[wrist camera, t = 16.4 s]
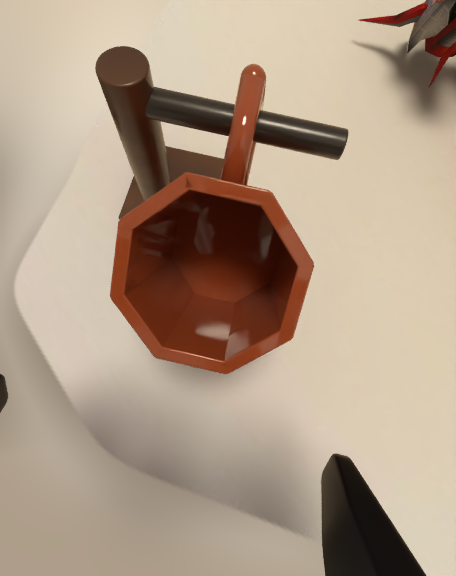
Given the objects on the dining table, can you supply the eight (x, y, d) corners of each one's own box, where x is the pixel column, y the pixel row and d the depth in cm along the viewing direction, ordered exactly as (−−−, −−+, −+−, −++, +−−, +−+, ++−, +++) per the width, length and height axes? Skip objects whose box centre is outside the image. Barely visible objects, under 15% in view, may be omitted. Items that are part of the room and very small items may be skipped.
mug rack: (280, 267, 25) (355, 138, 12) (120, 231, 25) (21, 64, 12) (296, 184, 27) (374, -3, 14) (148, 151, 27) (90, -62, 14)
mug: (269, 316, 20) (279, 387, 13) (159, 291, 20) (102, 346, 13) (320, 126, 17) (373, 69, 10) (190, 97, 17) (140, 19, 10)
